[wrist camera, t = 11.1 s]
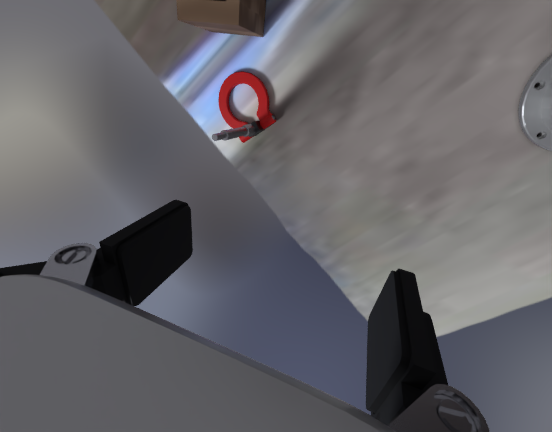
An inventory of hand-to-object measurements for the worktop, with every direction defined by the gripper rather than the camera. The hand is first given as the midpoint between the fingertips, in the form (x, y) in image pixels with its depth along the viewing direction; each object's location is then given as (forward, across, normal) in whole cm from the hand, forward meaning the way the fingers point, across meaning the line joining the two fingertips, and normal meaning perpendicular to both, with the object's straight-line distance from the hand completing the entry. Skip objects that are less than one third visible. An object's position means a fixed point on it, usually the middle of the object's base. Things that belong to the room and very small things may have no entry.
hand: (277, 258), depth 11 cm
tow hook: (+30, +16, -2) cm, 34 cm away
